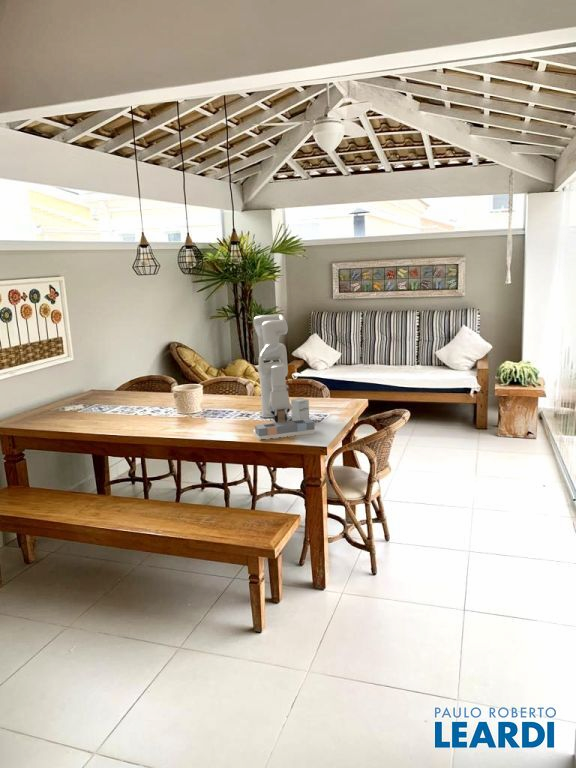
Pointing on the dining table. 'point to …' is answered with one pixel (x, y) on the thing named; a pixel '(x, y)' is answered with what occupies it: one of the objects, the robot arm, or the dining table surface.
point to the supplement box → (300, 409)
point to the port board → (284, 429)
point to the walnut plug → (281, 415)
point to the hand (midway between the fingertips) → (280, 421)
